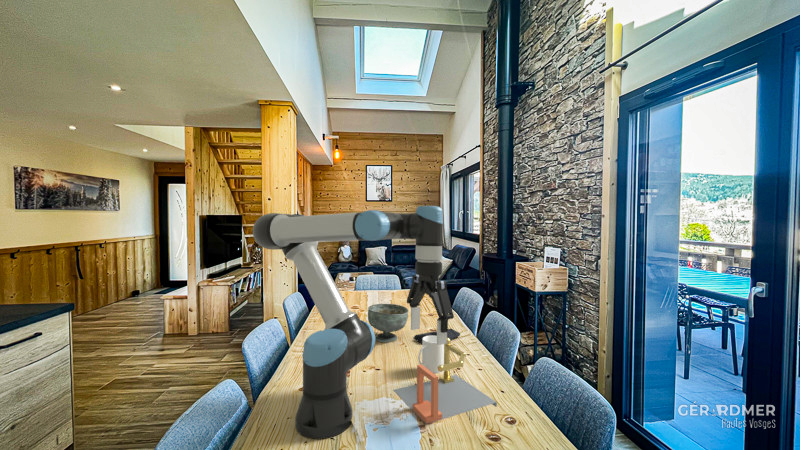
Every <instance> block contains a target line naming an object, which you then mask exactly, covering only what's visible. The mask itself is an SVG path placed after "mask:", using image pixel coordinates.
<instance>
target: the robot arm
mask: <svg viewBox="0 0 800 450" xmlns="http://www.w3.org/2000/svg"><path fill="white" fill-rule="evenodd" d="M443 219H444V218H443V209H442V208H441V207H440V206H437V205H419V206H417V207H416V210H415V212H413V213H406V212H405V213H404V212H403V213H401V212H399V213H398V212H397V213H396V212H388V211H381V210H377V209H371V210H370V209H369V210H365V211H362V212H360V211H359V212H344V213H343V212H342V213H331V214H317V215H314V214H313V215H303V214H298V213H293V214H290V213H275V212H270V213H266V214H263V215H260V216H259V218H257V219H256V220H255V222H254V225H253V226H252V236H253V239H254V241H255V242H256V244H258V245H259V247H262V248H263V249H267V250H281V251H282V252H283V255H284V257H285V259H287V260H289V261H293V264H294V266H295V268H296V270H297V272H298V274H299V275H300V278H301V279H302V282H303V283H304V286H305V287H306V289H307V291H308V293H309V295H310V298H311V299H312V301H313V303H314V305H315V308H316V309H317V311H318V313H319V315H320V316H321V319H322V321H323V323H324V324H325V326H324V329H323V330H318V331H315V332H313V333H311V334H310V335H308V337H307V338H305V341H304V343H303V351H302V396H301V399H300V403H299V404H298V409H297V412H296V415H295V429H296V431H297V432H298V434H300V435H302V436H304V438H305V437H306V438H308V439H309V438H310V439H327V438H331V437H334V436H337V435H340V434H342V433H343V432H345V431H346V430H348V428H350V426H351V424H352V422H353V421H352V420H353V419H352V418H353V408H352V404H351V401H350V398H349V397H350V396H349V394H348V392H347V379H348V377H347V373H348V372H349V371H350V370H352V369H353V368H354V367H356V366H357V365H358V364H359V363H362V362H363V361H364V360H366V359H367V358H368V357H369V355H371V353H372V352H373V350H374V347H375V345H376V344H375V343H376V335H375V331H374V329H373V327H372V326H371V325H370V323H369V322H368V321H364V320H362V319H360V317H359V315H358V314H357V312H354V311H351V309H349V307H348V305H347V303H346V302H345V300H344V298H343V296H342V294H341V292H340V290H339V288H338V286H337V284H336V283H335V281H334V279H333V277H332V275H331V273H330V271H329V270H328V267H327V265H326V263H325V262H324V260H323V258H322V257H321V254H320V253H319V250H318V248H317V247H318V246H319V243H323V242H324V243H325V242H330V243H331V242H349V241H350V242H353V241H355V242H356V241H361V242H362V241H369V242H373V241H376V242H377V241H382V240H415V257H414V258H415V260H416V261H415V268H414V269H415V274H413V275H412V281H411V285H410V289H409V291H408V295H407V299H406V303H407V304H409V307H410V330H411V331H416V330H420V329H421V327H420V326H421V307H420V306H421V302H422V300H423V298H424V296H425V294H426V295H428V297H429V298H430V299H431V300H432V303H433V306H434V308H435V311H436V314H437V315H438V318H437V319H436V331H437V345H442V344H447V331H448V329H449V325H448V324H449V320H452V319H454V317H455V316H454V312H453V309H452V304H451V300H450V296H449V292H448V288H447V281H446V280H441V281H440V279H439V277H440V276H441V275H443V263H442V261H441V260H443V231H444V230H443V227H444V220H443Z"/></svg>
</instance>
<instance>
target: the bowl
mask: <svg viewBox="0 0 800 450" xmlns="http://www.w3.org/2000/svg"><path fill="white" fill-rule="evenodd" d="M408 319H409V309H408V308H407V307H405V306H403V305H400V304H396V303H395V304H394V303H375V304H372V305H370V306H368V308H367V322H368V324H369V325H370V326H371V327H372V328H374V329H375V330H377V331H380V332H382V333H379V334H377V335H376V336H375V341H377V342H379V343H387V344H388V343H391V342H392V343H393V342H396V341H397V339H398V336H397V335H396V334H395V333H394V332H398V331H400V330H402V329H403V328H404V327H406V325H407V322H408Z"/></svg>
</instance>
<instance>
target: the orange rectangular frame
mask: <svg viewBox="0 0 800 450" xmlns="http://www.w3.org/2000/svg"><path fill="white" fill-rule="evenodd" d="M424 377H425V378H427V379H428V380H429V381H431V403H430V402H429V401H428V400H426V401H423V393H424V382H425V381H424V380H425V379H424ZM438 379H439V376H438V375H437V374H434V373H433V372H431V371H430V370H429V369H427V368H426V367H425V366H423V365H422V364H416V384H417V402H418V403H415V404H413V410H414V411H415V412H416V413H417V414H418V415H419V416H420V417H421V418H422V420H423V421H424V422H425V423H426V424H425V423H424V422H423V421H422V420H421V421H422V422H423V423H424V424H425V425H428V424H427V423H429V424H431V423H430V422H432V423H434V422H433V421H436V420H439V421H441V420H440V419H442V413H441V412H440V411H439V410H438ZM413 410H412V411H413ZM442 420H443V419H442ZM436 422H437V421H436Z"/></svg>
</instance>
